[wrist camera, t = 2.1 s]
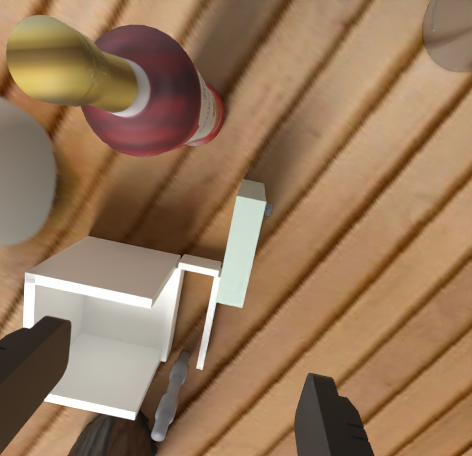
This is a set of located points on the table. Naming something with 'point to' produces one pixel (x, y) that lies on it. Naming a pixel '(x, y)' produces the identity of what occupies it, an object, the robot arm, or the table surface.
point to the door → (242, 242)
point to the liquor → (118, 83)
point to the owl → (115, 437)
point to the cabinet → (117, 323)
